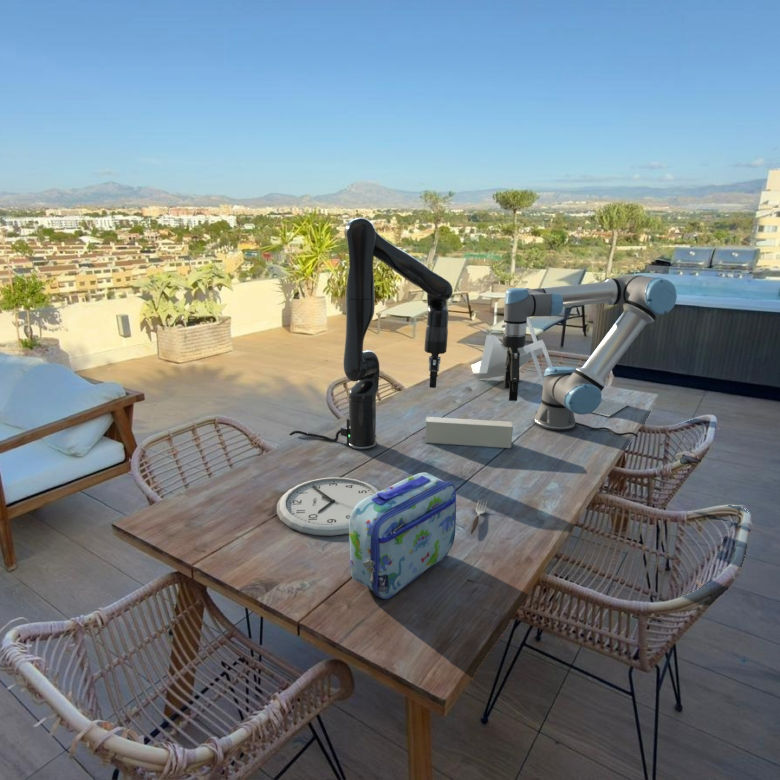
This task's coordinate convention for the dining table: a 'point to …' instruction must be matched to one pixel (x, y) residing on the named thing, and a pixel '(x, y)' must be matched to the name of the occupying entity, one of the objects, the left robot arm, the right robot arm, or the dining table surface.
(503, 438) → the beam
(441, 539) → the lunch box
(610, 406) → the invitation card
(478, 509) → the fork
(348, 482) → the wall clock
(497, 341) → the white plastic object
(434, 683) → the dining table surface
